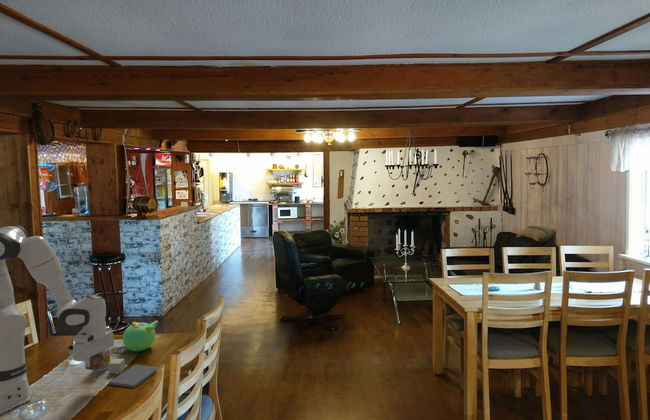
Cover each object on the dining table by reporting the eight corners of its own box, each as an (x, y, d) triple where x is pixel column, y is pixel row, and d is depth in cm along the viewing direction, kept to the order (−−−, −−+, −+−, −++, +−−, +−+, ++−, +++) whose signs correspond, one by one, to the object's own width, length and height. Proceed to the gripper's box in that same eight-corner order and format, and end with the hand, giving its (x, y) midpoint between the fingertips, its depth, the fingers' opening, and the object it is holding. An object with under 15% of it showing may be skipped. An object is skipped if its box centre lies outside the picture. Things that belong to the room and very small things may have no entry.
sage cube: (120, 373, 205) (119, 363, 205) (109, 373, 205) (108, 363, 205) (124, 368, 210) (124, 358, 210) (114, 369, 210) (113, 358, 210)
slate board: (133, 387, 192) (133, 385, 192) (108, 384, 195) (108, 381, 195) (159, 369, 209) (159, 367, 209) (135, 366, 212) (135, 364, 212)
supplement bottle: (104, 371, 207) (102, 345, 206) (91, 370, 209) (90, 344, 207) (113, 365, 214) (112, 339, 213) (101, 364, 215) (100, 339, 214)
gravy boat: (125, 344, 240) (124, 318, 238) (159, 340, 245) (157, 315, 243) (121, 358, 222) (119, 329, 221) (157, 353, 228) (155, 325, 226)
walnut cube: (95, 370, 190) (95, 359, 189) (85, 368, 191) (85, 357, 191) (103, 365, 195) (103, 354, 194) (94, 364, 196) (94, 353, 196)
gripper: (105, 324, 203) (105, 354, 204) (69, 339, 183) (69, 371, 184) (117, 326, 201) (117, 355, 202) (82, 340, 181) (82, 373, 182)
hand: (94, 363), depth 193 cm, fingers closed on walnut cube, 5 cm apart
